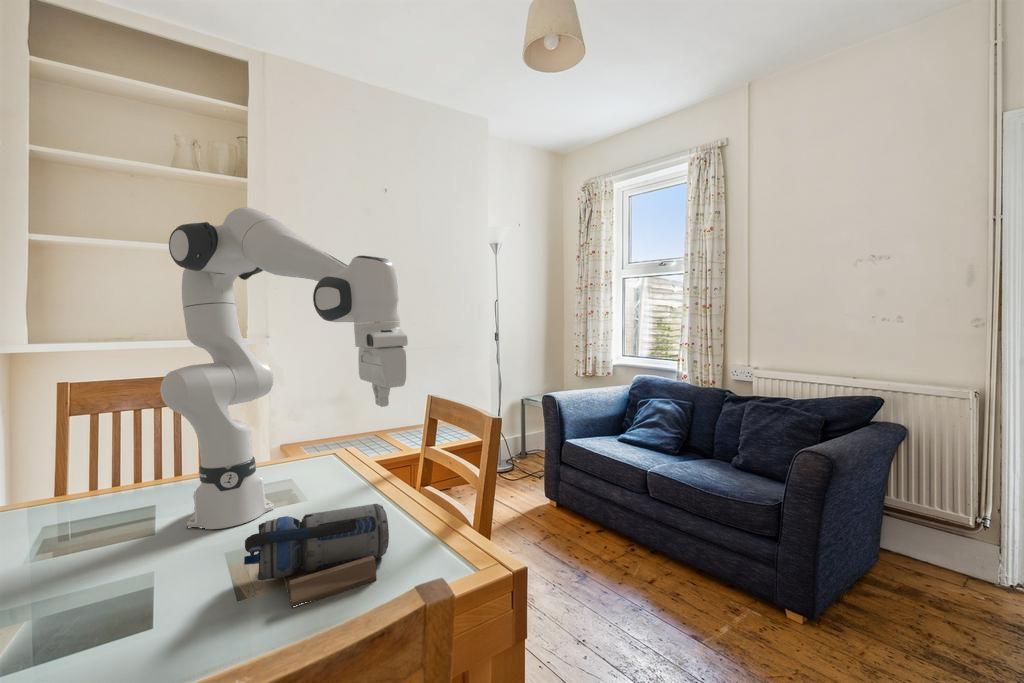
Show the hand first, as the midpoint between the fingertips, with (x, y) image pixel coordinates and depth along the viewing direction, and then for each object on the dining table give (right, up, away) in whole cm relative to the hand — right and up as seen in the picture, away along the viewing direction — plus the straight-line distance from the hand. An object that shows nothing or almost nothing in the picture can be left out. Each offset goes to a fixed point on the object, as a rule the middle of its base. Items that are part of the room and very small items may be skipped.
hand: (382, 405), depth 96 cm
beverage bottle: (+1, -24, -1) cm, 24 cm away
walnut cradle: (-9, -31, -5) cm, 32 cm away
